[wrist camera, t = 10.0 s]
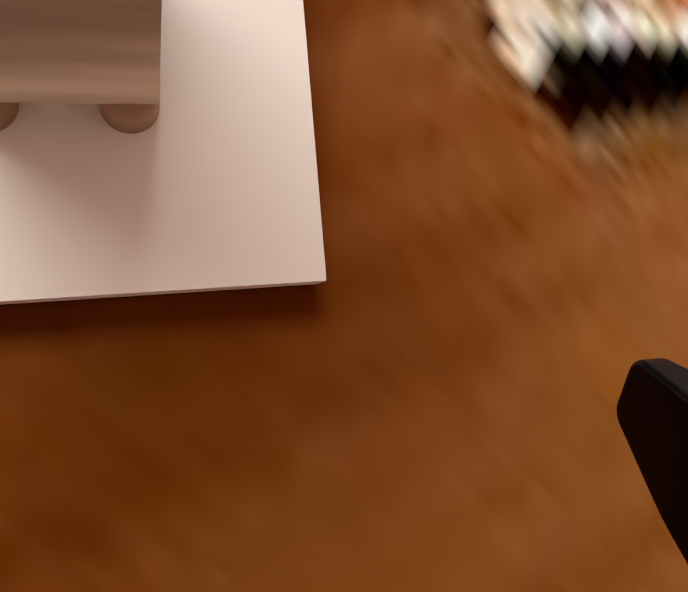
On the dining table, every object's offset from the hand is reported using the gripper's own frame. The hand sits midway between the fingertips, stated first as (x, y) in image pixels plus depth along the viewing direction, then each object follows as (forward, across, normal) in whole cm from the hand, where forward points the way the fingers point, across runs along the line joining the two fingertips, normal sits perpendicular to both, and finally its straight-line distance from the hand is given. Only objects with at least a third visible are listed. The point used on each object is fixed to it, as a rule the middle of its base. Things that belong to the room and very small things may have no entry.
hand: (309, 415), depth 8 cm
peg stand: (+15, +5, -1) cm, 16 cm away
